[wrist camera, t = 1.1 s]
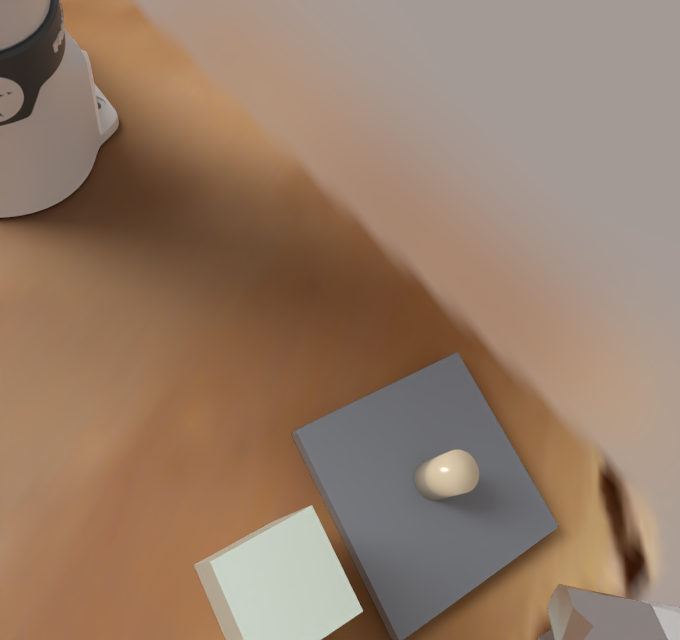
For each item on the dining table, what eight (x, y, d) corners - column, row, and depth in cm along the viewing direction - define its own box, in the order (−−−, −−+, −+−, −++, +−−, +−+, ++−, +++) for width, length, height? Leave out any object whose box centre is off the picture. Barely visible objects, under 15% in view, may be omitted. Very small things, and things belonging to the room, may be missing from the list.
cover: (193, 564, 39) (210, 561, 29) (273, 521, 42) (311, 505, 32) (231, 653, 38) (261, 680, 28) (310, 602, 40) (363, 611, 31)
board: (291, 434, 44) (310, 415, 39) (449, 357, 51) (484, 332, 46) (391, 640, 41) (428, 649, 36) (547, 528, 48) (597, 522, 42)
